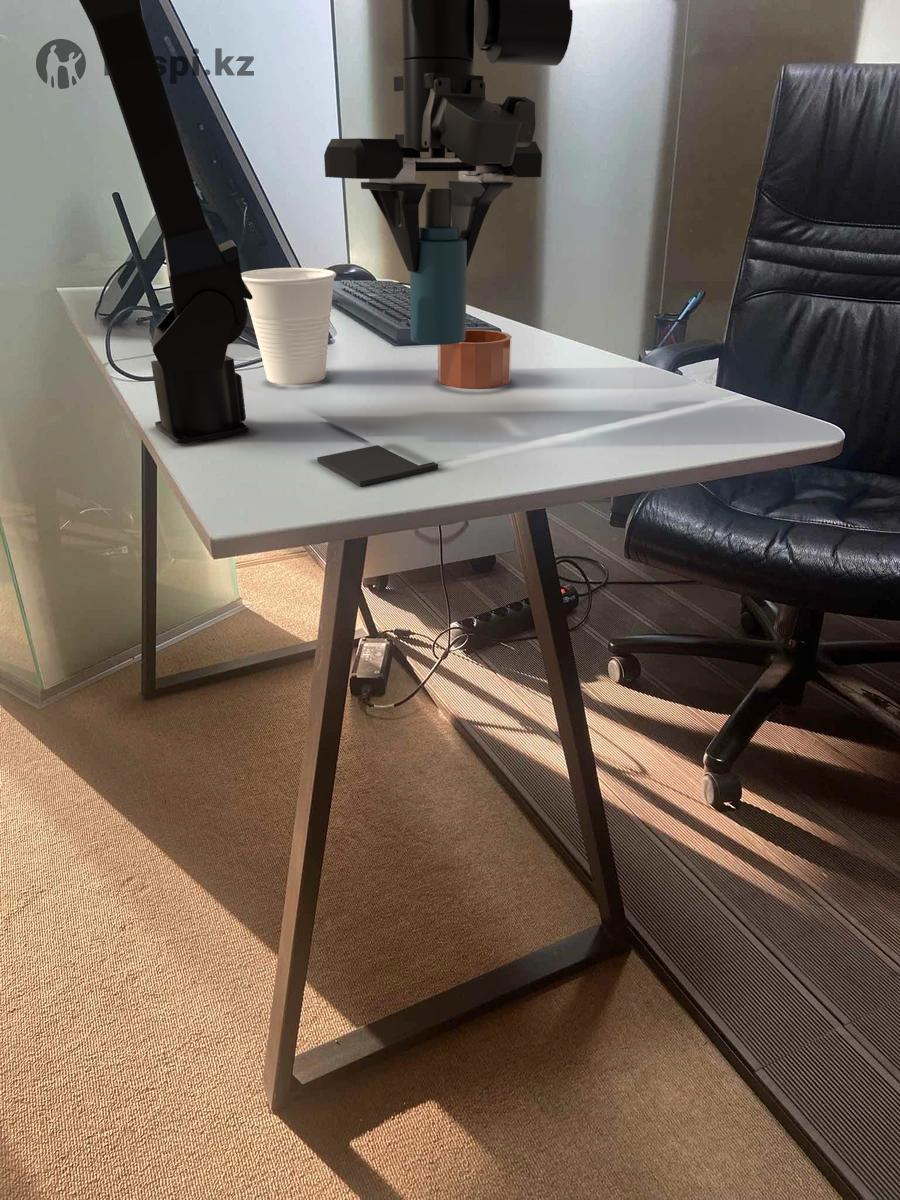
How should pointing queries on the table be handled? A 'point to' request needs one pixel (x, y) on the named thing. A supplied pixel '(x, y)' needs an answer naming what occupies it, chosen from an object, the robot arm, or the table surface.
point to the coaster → (372, 465)
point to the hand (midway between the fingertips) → (437, 269)
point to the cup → (291, 321)
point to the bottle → (439, 276)
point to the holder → (476, 360)
